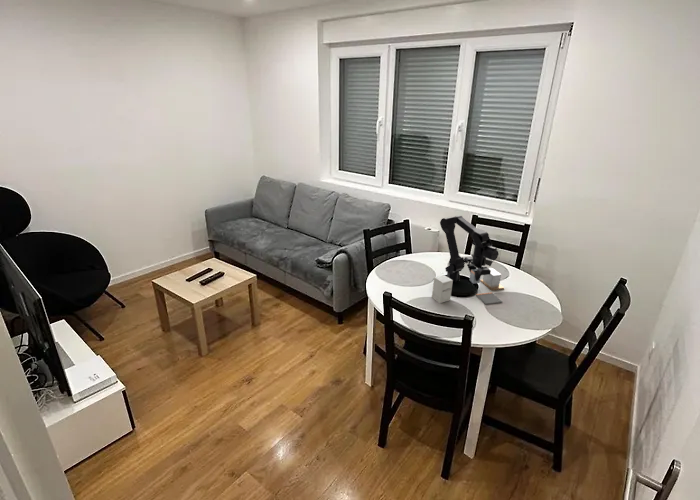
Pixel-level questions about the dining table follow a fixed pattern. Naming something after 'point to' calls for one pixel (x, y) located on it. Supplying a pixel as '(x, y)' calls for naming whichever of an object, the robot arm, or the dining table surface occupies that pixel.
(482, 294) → the pad
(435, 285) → the supplement box
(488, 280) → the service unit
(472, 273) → the cartridge
